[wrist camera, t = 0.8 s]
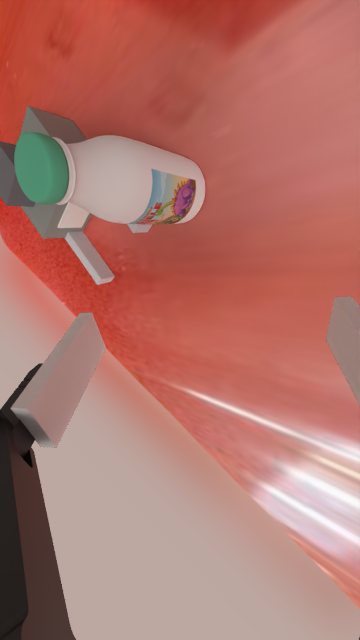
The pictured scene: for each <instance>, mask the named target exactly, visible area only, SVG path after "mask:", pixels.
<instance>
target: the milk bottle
mask: <svg viewBox="0 0 360 640" xmlns="http://www.w3.org/2000/svg"><path fill="white" fill-rule="evenodd" d="M14 165H15V172H16V176H17V180H18V182H19V185H20V187H21V189H22V191H23V192H24V194H25V195H26V196H27V197H28V198H29V199H30V200H31V201H33V202H36V203H40V204H57V205H63V204H65V203H67V202H69V203H72V204H75V205H77V206H79V207H81V208H83V209H85V210H86V211H88V212H89V213H91V214H93V215H94V216H96V217H98V218H100V219H103V220H106V221H109V222H113V223H119V224H180V223H185V222H187V221H189V220H191V219H192V218H193V217H194V216H195V215H196V214H197V213H198V212H199V210H200V208H201V207H202V205H203V201H204V198H205V181H204V177H203V174H202V172H201V170H200V168H199V167H198V166H197V164H196V163H195V162H193V161H192V160H190V159H188V158H185V157H183V156H180V155H178V154H175V153H172V152H169V151H166V150H163V149H161V148H158V147H155V146H152V145H149V144H146V143H143V142H140V141H137V140H133V139H130V138H126V137H123V136H116V135H103V136H97V137H94V138H91V139H88V140H86V141H83V142H79V143H73V144H65V143H64V142H63V141H62V140H61V139H59V138H56V137H50V136H48V135H45V134H42V133H37V132H25V133H23V134H22V135H21V136H20V138H19V139H18V141H17V144H16V147H15V153H14Z"/></svg>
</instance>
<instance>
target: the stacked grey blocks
mask: <svg viewBox="0 0 360 640" xmlns="http://www.w3.org/2000/svg"><path fill="white" fill-rule="evenodd" d="M25 132H37V133H42V134H45V135H48V136H50V137H56V138H59V139H61V140H62V141H63V142H64V143H65V144H73V143H79V142H83V141H86V140H87V139H86V138H85V136H84V135H83V134H82V132H81V131H80V130H79V128H78V127H77V126H76V124H75V123H74V122H73V121H72V120H69V119H66V118H63V117H60V116H57V115H54V114H51V113H48V112H45V111H43V110H40V109H37V108H34V107H31V106H27V110H26V114H25V118H24V122H23V126H22V129H21V133H20V136H21V135H22V134H23V133H25ZM19 138H20V137H19ZM15 147H16V145H14V144H9V143H5V142H0V197H1V198H2V200H3V201H4V203H5V204H6V206H21V207H22V209H23V210H24V212H25V213H26V215H27V216H28V217H29V219H30V220H31V222H32V223H33V225H34V226H35V228H36V229H37V230H38V232H39V233H40V235H41V236H42V238H61V237H65V239H66V241H67V242H68V244H69V245H70V246H71V248H72V249H73V251H74V252H75V254H76V255H77V256H78V258H79V259H80V261H81V262H82V264H83V265H84V266H85V268H86V269H87V271H88V272H89V274H90V275H91V276H92V278H93V279H94V281H95V282H96V284H97V285H99V284H103V283H107V282H111V281H112V279H113V278H114V277H115V276H114V274H113V273H112V272H111V270H110V269H109V267H108V266H107V265H106V263H105V262H104V260H103V259H102V258H101V256H100V255H99V253H98V252H97V251H96V249H95V248H94V246H93V245H92V244H91V242H90V241H89V239H88V238H87V237H86V235H85V234H84V232H83V230H84V228H85V226H86V225H87V223H88V221H89V219H90V217H91V215H92V214H91V213H89V212H88V211H86V210H85V209H83V208H81V207H79V206H77V205H75V204H72V203H69V202H67V203H65V204H63V205H57V204H40V203H36V202H33V201H31V200H30V199H29V198H28V197H27V196H26V195H25V194H24V192H23V191H22V189H21V187H20V185H19V182H18V180H17V176H16V172H15V165H14V153H15ZM127 225H128V226H129V228H130V229H131V230H132V232H133V233H141V232H148V230H149V229H150V228H151V226H152V225H153V224H127Z"/></svg>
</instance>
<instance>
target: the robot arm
mask: <svg viewBox="0 0 360 640" xmlns="http://www.w3.org/2000/svg"><path fill="white" fill-rule="evenodd" d="M326 341H327V343H328V345H329V347H330V349H331V351H332V353H333V355H334V357H335V359H336V361H337V363H338V365H339V367H340V369H341V370H342V372H343V374H344V376H345V378H346V380H347V382H348V384H349V386H350V388H351V390H352V392H353V394H354V396H355V397H356V399H357V401H358V403H359V405H360V307H359V305H358V304H357V303H356V302H355V300H354V299H353V298H352V297H336V298H335V299H334V304H333V308H332V313H331V318H330V322H329V327H328V332H327V336H326ZM105 349H106V347H105V344H104V342H103V339H102V337H101V334H100V332H99V329H98V327H97V324H96V321H95V319H94V316H93V314H92V313H80V314H79V315H78V317H77V318H76V319H75V321H74V322H73V324H72V325H71V326H70V328H69V329H68V330H67V332H66V333H65V334H64V336H63V337H62V339H61V340H60V341H59V343H58V344H57V346H56V347H55V348H54V350H53V351H52V352H51V354H50V355H49V356H48V358H47V359H46V360H45V362H44V363H43V364H38V365H37V366H36V367H35V368H33V369H32V370H31V371H30V372H29V373H28V374H27V375H26V377H25V378H24V381H22V382H21V384H20V385H19V386H18V388H17V389H16V390H15V391H14V393H13V394H12V395H11V396H10V398H9V399H8V401H7V402H6V403H5V404H4V406H3V407H2V408H1V410H0V640H76V639H75V637H74V635H73V633H72V630H71V627H70V623H69V618H68V613H67V609H66V604H65V599H64V594H63V590H62V584H61V580H60V576H59V570H58V565H57V560H56V556H55V551H54V546H53V542H52V537H51V532H50V527H49V522H48V518H47V512H46V508H45V503H44V498H43V493H42V488H41V484H40V479H39V474H38V469H37V465H36V460H35V455H34V451H33V449H32V448H31V446H32V444H33V442H34V441H35V440H36V442H38V444H39V445H40V447H54V448H56V447H57V445H58V443H59V441H60V439H61V437H62V435H63V433H64V431H65V429H66V427H67V425H68V423H69V421H70V419H71V417H72V415H73V413H74V411H75V409H76V407H77V405H78V403H79V401H80V399H81V397H82V395H83V393H84V391H85V389H86V387H87V385H88V383H89V381H90V379H91V377H92V375H93V373H94V371H95V369H96V367H97V365H98V363H99V361H100V359H101V357H102V355H103V353H104V351H105ZM359 640H360V638H359Z"/></svg>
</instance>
